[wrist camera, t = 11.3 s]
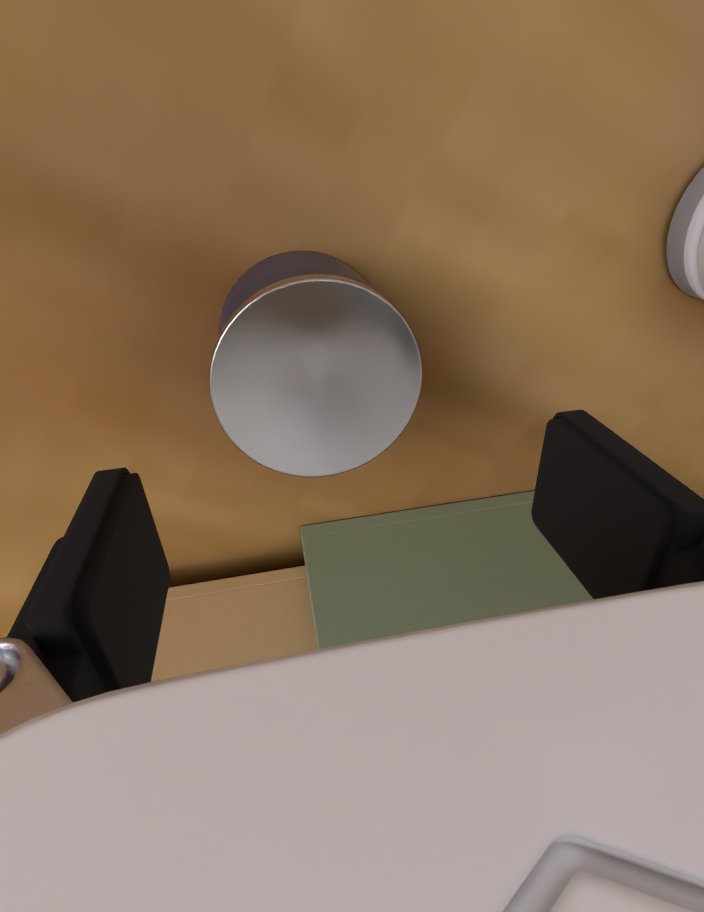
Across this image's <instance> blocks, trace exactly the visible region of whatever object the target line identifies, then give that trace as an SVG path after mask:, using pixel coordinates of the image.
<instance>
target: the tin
mask: <svg viewBox="0 0 704 912" xmlns="http://www.w3.org/2000/svg"><path fill="white" fill-rule="evenodd" d="M421 383H422V364H421V356H420V352H419V347H418V344H417V342H416V339H415V336H414V334H413V332H412V330H411V329H410V327H409V325H408V323H407V322H406V320H405V319H404V318H403V316H402V315H401V314H400V312H399V311H398V310H397V309H396V308H395V307H394V306H393V305H392V304H391V303H390V302H389V301H388V300H387V299H386V298H384V297H383V296H382V295H380V294H379V293H378V292H376V291H375V290H374V289H373V288H372V287H371V286H370V285H369V284H368V283H367V282H366V281H365V280H364V279H363V278H362V277H361V276H360V275H359V274H358V273H357V272H356V271H355V270H354V269H353V268H351V267H350V266H349V265H347V264H346V263H344V262H342V261H340V260H338V259H337V258H334V257H331V256H329V255H326V254H322V253H318V252H311V251H291V252H286V253H281V254H278V255H275V256H272V257H269V258H267V259H265V260H263V261H261V262H259V263H258V264H256V265H255V266H253V267H252V268H250V269H249V270H248V271H247V272H246V273H245V274H244V275H243V276H242V277H241V278H240V279H239V280H238V281H237V283H236V284H235V285H234V286H233V288H232V290H231V291H230V293H229V295H228V296H227V299H226V301H225V304H224V306H223V310H222V314H221V318H220V325H219V333H218V339H217V342H216V344H215V347H214V351H213V355H212V359H211V365H210V374H209V389H210V396H211V402H212V406H213V409H214V412H215V415H216V418H217V420H218V422H219V424H220V425H221V427H222V429H223V431H224V432H225V434H226V435H227V436H228V438H229V439H230V440H231V441H232V443H233V444H234V445H235V446H236V447H237V448H238V449H239V450H240V451H242V452H243V453H244V454H245V455H246V456H248V457H249V458H250V459H252V460H254V461H255V462H257V463H258V464H260V465H262V466H264V467H267V468H269V469H271V470H274V471H277V472H280V473H283V474H288V475H293V476H301V477H322V476H330V475H335V474H339V473H344V472H346V471H349V470H352V469H355V468H357V467H359V466H361V465H363V464H366V463H367V462H369V461H371V460H372V459H374V458H375V457H377V456H378V455H380V454H381V453H382V452H383V451H385V450H386V449H387V448H388V447H389V446H390V445H391V444H392V443H393V442H394V441H395V440H396V439H397V438H398V437H399V435H400V434H401V433H402V432H403V430H404V429H405V427H406V425H407V424H408V422H409V421H410V419H411V417H412V415H413V412H414V410H415V408H416V405H417V402H418V399H419V395H420V389H421Z"/></svg>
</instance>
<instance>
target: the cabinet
mask: <svg viewBox="0 0 704 912" xmlns="http://www.w3.org/2000/svg"><path fill="white" fill-rule="evenodd" d="M534 493H535V491H529V492H523V493H516V494H509V495H503V496H496V497H490V498H483V499H477V500H470V501H463V502H457V503H450V504H444V505H437V506H431V507H424V508H417V509H411V510H404V511H398V512H391V513H385V514H378V515H371V516H365V517H358V518H352V519H345V520H339V521H332V522H326V523H319V524H312V525H306V526H301V527H300V531H301V539H302V547H303V555H304V562H305V566H306V572H307V579H308V586H309V593H310V599H311V606H312V613H313V619H314V626H315V633H316V640H317V646H318V649H322V648H328V647H333V646H338V645H344V644H349V643H355V642H360V641H365V640H371V639H376V638H381V637H387V636H392V635H398V634H403V633H409V632H414V631H420V630H425V629H431V628H436V627H442V626H447V625H453V624H459V623H464V622H470V621H475V620H481V619H486V618H492V617H497V616H503V615H509V614H514V613H520V612H525V611H531V610H537V609H542V608H548V607H554V606H560V605H565V604H571V603H577V602H582V601H588V600H594V599H593V598H592V597H591V596H590V594H589V593H588V592H587V590H586V589H585V588H584V587H583V585H582V584H581V583H580V582H579V580H578V579H577V578H576V576H575V575H574V574H573V573H572V571H571V570H570V569H569V568H568V566H567V565H566V564H565V562H564V561H563V560H562V559H561V557H560V556H559V555H558V554H557V552H556V551H555V550H554V549H553V547H552V546H551V545H550V543H549V542H548V541H547V540H546V538H545V537H544V536H543V535H542V533H541V532H540V531H539V529H538V528H537V527H536V526H535V524H534V522H533V519H532V514H531V510H532V504H533V498H534Z"/></svg>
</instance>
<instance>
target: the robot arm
mask: <svg viewBox="0 0 704 912" xmlns="http://www.w3.org/2000/svg"><path fill="white" fill-rule="evenodd" d="M531 514H532V519H533V522H534V524H535V526H536V527H537V528H538V529H539V531H540V532H541V533H542V535H543V536H544V537H545V538H546V540H547V541H548V542H549V543H550V545H551V546H552V547H553V549H554V550H555V551H556V552H557V554H558V555H559V556H560V557H561V559H562V560H563V561H564V562H565V564H566V565H567V566H568V568H569V569H570V570H571V571H572V573H573V574H574V575H575V576H576V578H577V579H578V580H579V582H580V583H581V584H582V585H583V587H584V588H585V589H586V590H587V592H588V593H589V594H590V596H591V597H592V598H593V599H594V600H588V601H582V602H577V603H571V604H565V605H560V606H554V607H548V608H542V609H537V610H531V611H525V612H520V613H514V614H509V615H503V616H497V617H492V618H486V619H481V620H475V621H470V622H464V623H459V624H453V625H447V626H442V627H436V628H431V629H425V630H420V631H414V632H409V633H403V634H398V635H392V636H387V637H381V638H376V639H371V640H365V641H360V642H355V643H349V644H344V645H338V646H333V647H328V648H322V649H317V650H312V651H306V652H301V653H296V654H290V655H285V656H280V657H274V658H269V659H263V660H258V661H253V662H247V663H242V664H237V665H232V666H227V667H221V668H216V669H211V670H206V671H201V672H196V673H190V674H185V675H181V676H176V677H172V678H167V679H163V680H158V681H154V682H151V678H152V673H153V667H154V662H155V657H156V652H157V646H158V641H159V636H160V630H161V625H162V620H163V614H164V609H165V604H166V598H167V593H168V588H169V582H170V573H169V567H168V563H167V560H166V557H165V554H164V551H163V548H162V545H161V542H160V538H159V535H158V532H157V529H156V526H155V523H154V520H153V517H152V514H151V510H150V507H149V504H148V501H147V498H146V495H145V492H144V489H143V486H142V483H141V479H140V477H139V475H138V474H137V473H132V474H130V472H129V471H128V469H126V468H118V469H110V470H103V471H97V472H96V473H95V474H94V476H93V478H92V480H91V482H90V484H89V486H88V488H87V490H86V492H85V494H84V497H83V499H82V501H81V503H80V505H79V507H78V509H77V511H76V513H75V515H74V517H73V519H72V521H71V523H70V525H69V527H68V529H67V531H66V533H65V535H64V537H62V538H60V539H58V540H57V541H56V543H55V544H54V545H53V547H52V549H51V551H50V553H49V555H48V557H47V559H46V561H45V563H44V565H43V567H42V569H41V571H40V573H39V575H38V577H37V579H36V581H35V583H34V585H33V587H32V589H31V591H30V593H29V595H28V597H27V599H26V601H25V603H24V605H23V607H22V609H21V611H20V612H19V614H18V616H17V618H16V620H15V622H14V624H13V626H12V628H11V630H10V632H9V634H8V636H7V638H0V912H704V499H703V498H701V497H700V496H699V495H697V494H696V493H695V492H693V491H692V490H691V489H689V488H688V487H687V486H685V485H684V484H682V483H681V482H680V481H678V480H677V479H676V478H674V477H673V476H672V475H670V474H669V473H668V472H666V471H665V470H664V469H662V468H661V467H660V466H658V465H657V464H656V463H654V462H653V461H652V460H650V459H649V458H648V457H646V456H645V455H643V454H642V453H641V452H639V451H638V450H637V449H635V448H634V447H633V446H631V445H630V444H629V443H627V442H626V441H625V440H623V439H622V438H621V437H619V436H618V435H617V434H615V433H614V432H613V431H611V430H610V429H609V428H607V427H606V426H605V425H603V424H602V423H600V422H599V421H598V420H596V419H595V418H594V417H592V416H591V415H590V414H588V413H587V412H586V411H584V410H574V411H567V412H559V413H557V414H555V416H554V417H553V419H551V420H549V422H548V423H547V426H546V432H545V437H544V443H543V448H542V454H541V459H540V465H539V471H538V476H537V482H536V487H535V493H534V498H533V504H532V510H531Z"/></svg>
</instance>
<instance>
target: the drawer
mask: <svg viewBox="0 0 704 912" xmlns="http://www.w3.org/2000/svg"><path fill="white" fill-rule="evenodd" d="M317 649H318V646H317V640H316V633H315V626H314V619H313V613H312V606H311V599H310V593H309V586H308V579H307V572H306V566H299V567H293V568H287V569H281V570H275V571H269V572H263V573H257V574H250V575H244V576H238V577H232V578H226V579H220V580H214V581H208V582H201V583H195V584H189V585H183V586H177V587H171V588H168V593H167V598H166V604H165V609H164V614H163V620H162V625H161V630H160V636H159V641H158V646H157V652H156V657H155V662H154V667H153V673H152V678H151V682H154V681H158V680H163V679H167V678H172V677H176V676H181V675H185V674H190V673H196V672H201V671H206V670H211V669H216V668H221V667H227V666H232V665H237V664H242V663H247V662H253V661H258V660H263V659H269V658H274V657H280V656H285V655H290V654H296V653H301V652H306V651H312V650H317Z"/></svg>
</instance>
